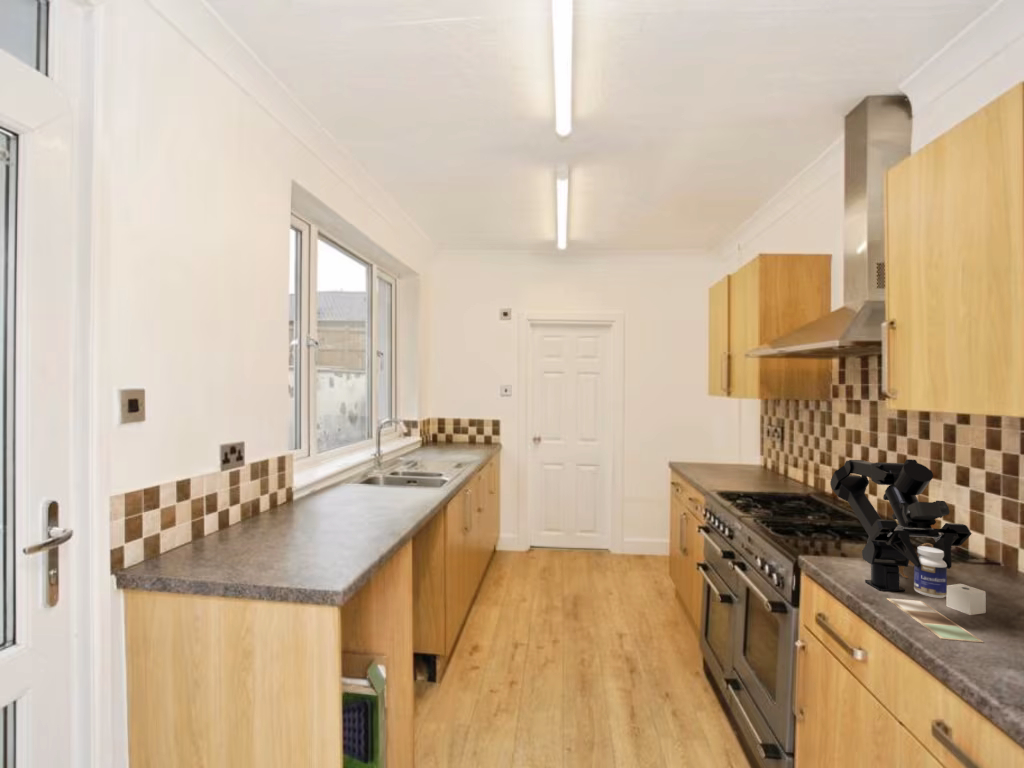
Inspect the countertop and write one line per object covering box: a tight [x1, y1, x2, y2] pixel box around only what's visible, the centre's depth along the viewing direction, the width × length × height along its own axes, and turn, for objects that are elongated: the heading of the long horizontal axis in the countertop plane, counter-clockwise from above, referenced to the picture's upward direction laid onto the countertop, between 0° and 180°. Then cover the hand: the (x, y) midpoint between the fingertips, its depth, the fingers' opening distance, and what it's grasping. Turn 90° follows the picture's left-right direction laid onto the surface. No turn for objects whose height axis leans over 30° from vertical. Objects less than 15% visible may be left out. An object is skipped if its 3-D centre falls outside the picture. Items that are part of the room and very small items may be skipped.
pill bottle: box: [913, 545, 948, 599], centre depth 115 cm, size 6×6×10 cm
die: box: [945, 583, 987, 616], centre depth 120 cm, size 5×5×5 cm
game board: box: [886, 597, 984, 644], centre depth 115 cm, size 21×8×1 cm, turn 169°
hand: (934, 566), depth 114 cm, fingers closed on pill bottle, 6 cm apart
